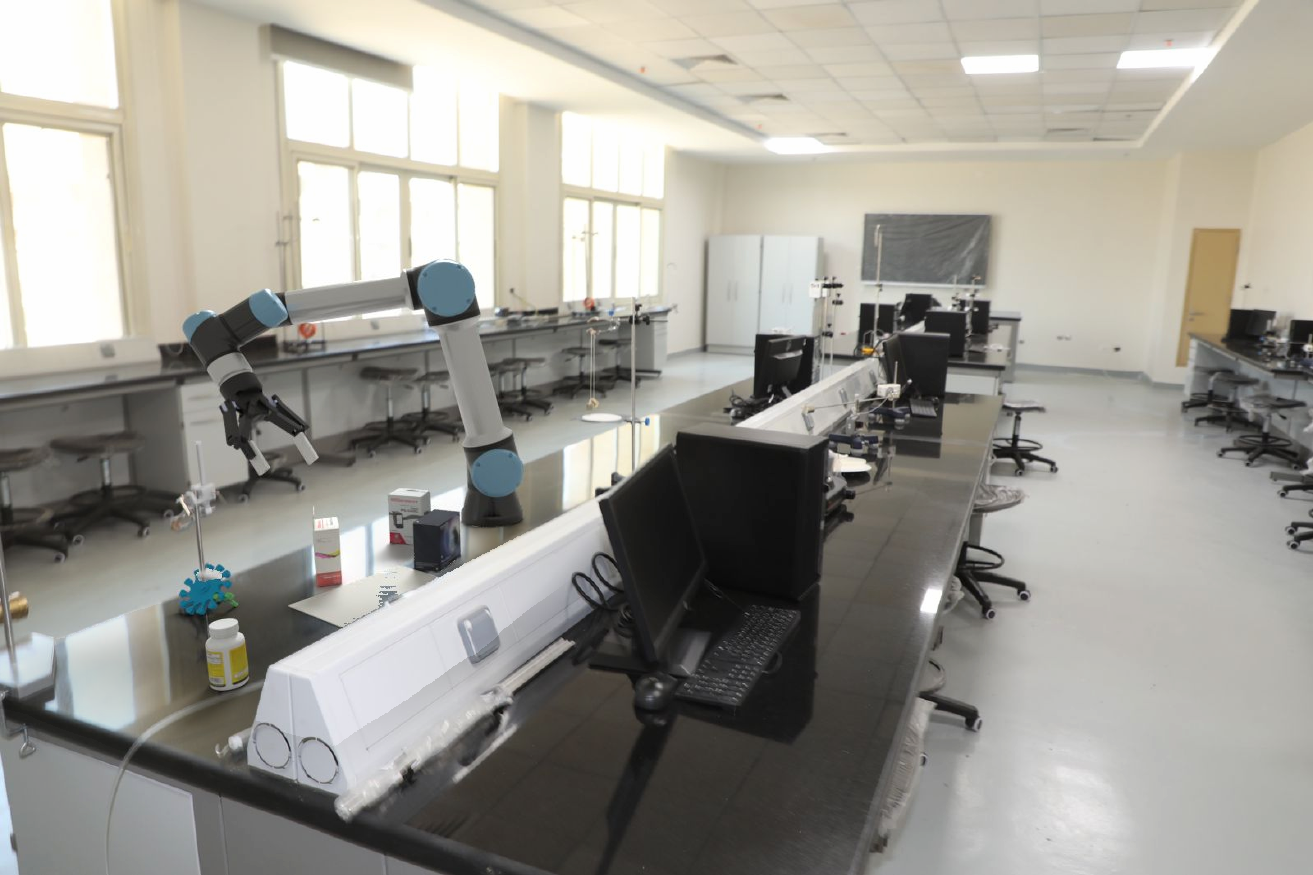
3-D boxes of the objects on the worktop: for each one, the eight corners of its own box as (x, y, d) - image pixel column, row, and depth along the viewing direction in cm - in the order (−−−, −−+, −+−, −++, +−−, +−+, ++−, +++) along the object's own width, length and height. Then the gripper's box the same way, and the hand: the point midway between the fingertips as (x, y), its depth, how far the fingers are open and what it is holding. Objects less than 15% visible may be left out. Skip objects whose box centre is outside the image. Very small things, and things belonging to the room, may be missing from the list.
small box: (441, 573, 175) (439, 525, 173) (412, 570, 176) (410, 522, 174) (463, 556, 185) (461, 510, 183) (435, 553, 187) (433, 508, 184)
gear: (165, 603, 155) (199, 555, 159) (186, 615, 160) (219, 568, 164) (208, 621, 151) (242, 572, 155) (228, 633, 155) (260, 585, 160)
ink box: (388, 543, 193) (385, 493, 191) (399, 536, 198) (396, 487, 195) (423, 546, 191) (420, 495, 189) (433, 539, 196) (431, 490, 194)
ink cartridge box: (343, 584, 169) (338, 513, 166) (317, 587, 167) (311, 516, 164) (341, 569, 176) (336, 502, 173) (315, 573, 174) (310, 504, 171)
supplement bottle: (249, 672, 133) (244, 613, 131) (248, 687, 128) (242, 627, 126) (211, 678, 131) (204, 619, 129) (208, 694, 126) (201, 633, 124)
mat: (400, 566, 179) (400, 565, 179) (459, 584, 169) (459, 584, 169) (288, 606, 158) (288, 605, 158) (348, 630, 148) (348, 629, 148)
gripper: (270, 386, 186) (321, 466, 184) (173, 395, 162) (230, 487, 161) (291, 367, 183) (343, 447, 182) (196, 373, 160) (254, 465, 158)
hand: (290, 466), depth 171 cm, fingers open, 13 cm apart
